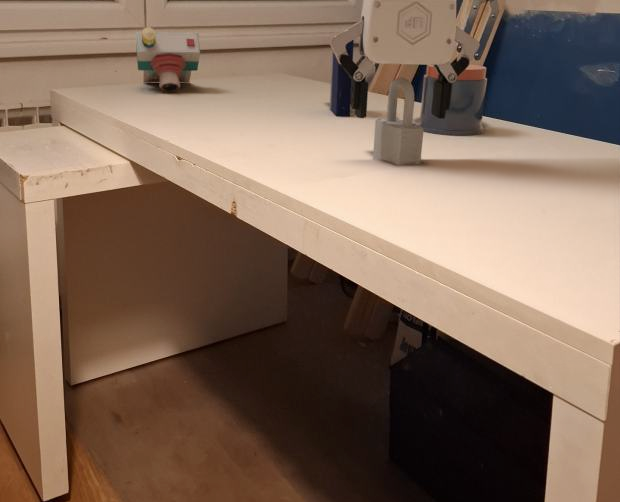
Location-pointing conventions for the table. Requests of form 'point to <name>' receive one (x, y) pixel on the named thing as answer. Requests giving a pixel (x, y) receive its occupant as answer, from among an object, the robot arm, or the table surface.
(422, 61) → the robot arm
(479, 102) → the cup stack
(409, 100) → the padlock
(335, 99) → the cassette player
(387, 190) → the table surface
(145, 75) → the toy camera
